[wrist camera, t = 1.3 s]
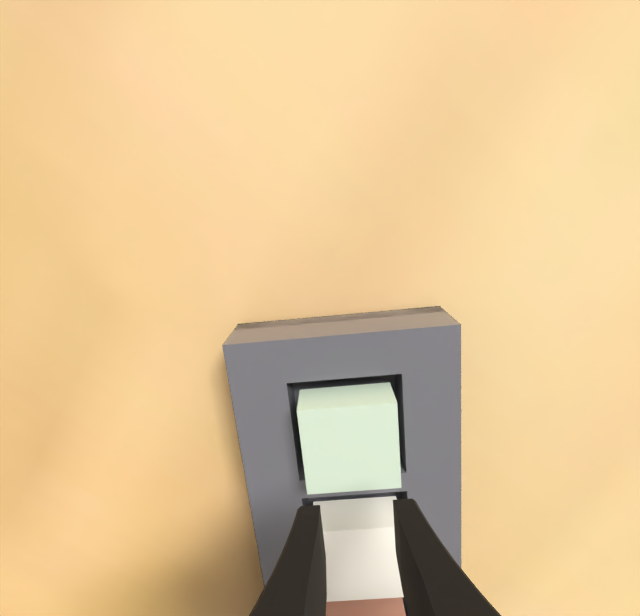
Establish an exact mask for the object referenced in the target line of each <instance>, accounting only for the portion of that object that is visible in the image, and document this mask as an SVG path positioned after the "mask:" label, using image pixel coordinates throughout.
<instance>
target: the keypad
mask: <svg viewBox="0 0 640 616" xmlns="http://www.w3.org/2000/svg"><path fill="white" fill-rule="evenodd" d="M222 346H223V351H224V357H225V363H226V369H227V374H228V380H229V386H230V392H231V397H232V403H233V409H234V415H235V420H236V426H237V432H238V438H239V444H240V449H241V455H242V461H243V467H244V472H245V478H246V484H247V490H248V495H249V501H250V507H251V513H252V518H253V524H254V530H255V536H256V541H257V547H258V553H259V559H260V564H261V570H262V576H263V582H264V588H265V586H266V584H267V582H268V580H269V578H270V576H271V574H272V572H273V570H274V568H275V566H276V564H277V561H278V559H279V557H280V555H281V552H282V550H283V548H284V546H285V543H286V541H287V538H288V536H289V533H290V531H291V528H292V525H293V522H294V519H295V516H296V513H297V509H298V508H299V507H300V506H311V505H313V502H316V501H331V500H345V499H359V498H374V497H388V496H396V498H397V500H398V499H414V500H415V501H416V502H417V504H418V506H419V508H420V509H421V511H422V513H423V515H424V516H425V518H426V520H427V521H428V523H429V524H430V526H431V527H432V529H433V530H434V532H435V533H436V535H437V536H438V538H439V539H440V541H441V542H442V544H443V545H444V546H445V548H446V549H447V550H448V552H449V553H450V555H451V556H452V557H453V559H454V560H455V561H456V563H457V564H458V565H459V567H460V568H461V324H460V323H459V322H457V321H456V320H455V319H454V318H453V317H452V316H450V315H449V314H448V313H447V312H446V311H445V310H443V309H442V308H441V307H440V306H435V307H424V308H413V309H402V310H391V311H379V312H368V313H357V314H346V315H334V316H323V317H312V318H301V319H290V320H278V321H267V322H256V323H245V324H238V325H237V327H236V328H235V329H234V331H233V332H232V333H231V334H230V336H229V337H228V338H227V340H226V341H225V342H224V344H223V345H222ZM387 382H390V384H391V387H392V390H393V392H394V395H395V398H396V401H397V407H398V427H399V447H400V467H401V488H393V489H379V490H365V491H351V492H336V493H322V494H308V495H307V489H306V481H305V473H304V465H303V457H302V449H301V441H300V433H299V425H298V417H297V405H298V398H299V391H300V390H301V389H314V388H326V387H338V386H351V385H363V384H375V383H387ZM402 599H403V604H404V609H405V614H406V616H409V614H408V610H407V606H406V603H405V599H404V597H402Z"/></svg>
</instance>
